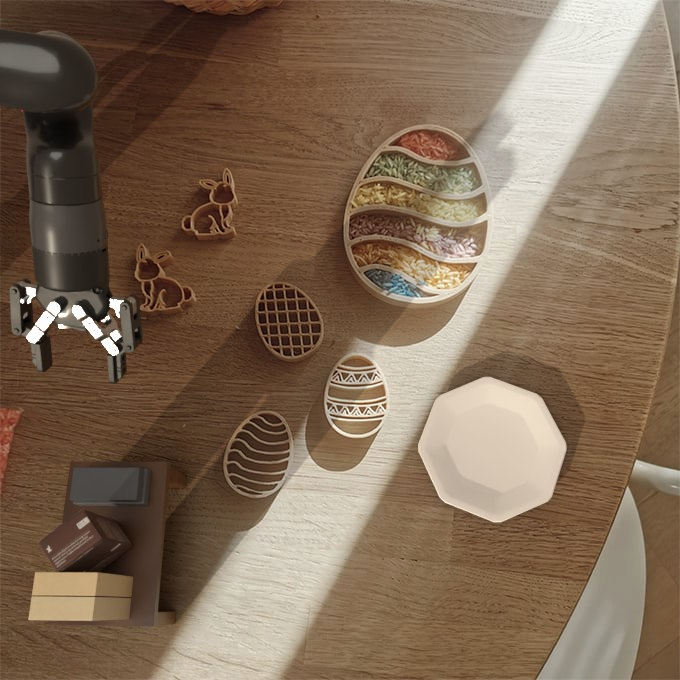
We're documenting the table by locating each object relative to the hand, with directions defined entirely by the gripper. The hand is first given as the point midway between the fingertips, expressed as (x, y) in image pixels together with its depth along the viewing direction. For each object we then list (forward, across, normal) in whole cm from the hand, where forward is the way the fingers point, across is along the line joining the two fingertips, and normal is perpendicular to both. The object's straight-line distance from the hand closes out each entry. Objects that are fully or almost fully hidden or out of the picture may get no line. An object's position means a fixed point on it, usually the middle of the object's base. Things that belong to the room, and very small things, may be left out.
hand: (80, 374), depth 83 cm
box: (+23, +3, -2) cm, 24 cm away
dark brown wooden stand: (+31, +3, +8) cm, 32 cm away
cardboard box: (+28, +4, -6) cm, 28 cm away
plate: (+16, +50, +23) cm, 57 cm away
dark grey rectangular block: (+18, +2, +4) cm, 19 cm away
